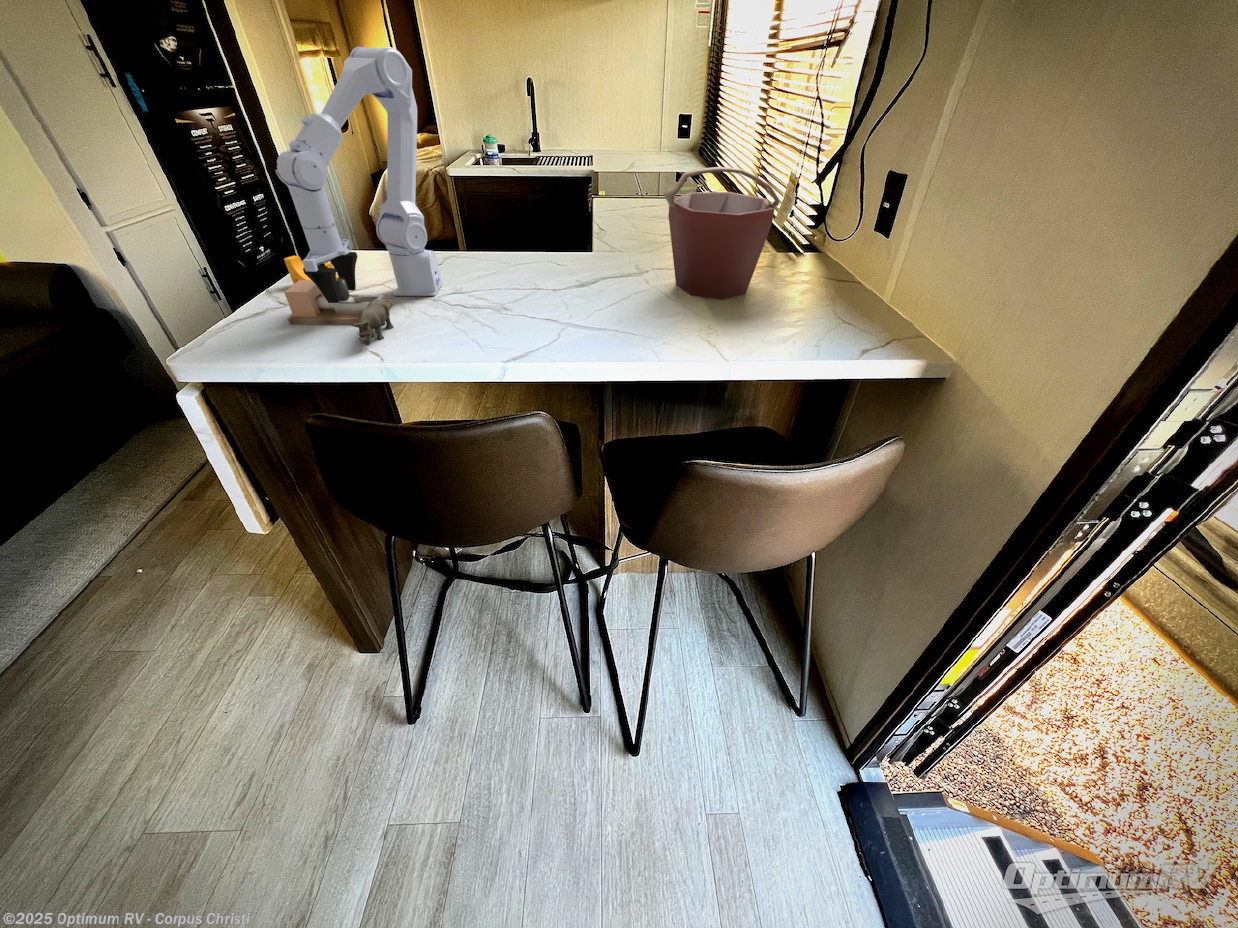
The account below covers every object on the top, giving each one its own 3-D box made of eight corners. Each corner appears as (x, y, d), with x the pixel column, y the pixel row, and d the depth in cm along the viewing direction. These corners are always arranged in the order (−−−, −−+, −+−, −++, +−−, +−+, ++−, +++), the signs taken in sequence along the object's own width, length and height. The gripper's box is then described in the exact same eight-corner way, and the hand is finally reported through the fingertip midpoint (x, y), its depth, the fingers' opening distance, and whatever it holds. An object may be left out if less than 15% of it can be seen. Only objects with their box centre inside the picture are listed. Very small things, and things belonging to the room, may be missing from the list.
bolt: (356, 306, 108) (347, 277, 104) (352, 310, 106) (343, 282, 102) (312, 306, 107) (302, 277, 104) (307, 310, 106) (297, 282, 102)
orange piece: (347, 289, 119) (337, 261, 115) (331, 295, 116) (321, 266, 112) (310, 281, 123) (300, 253, 119) (294, 287, 120) (283, 258, 116)
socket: (330, 303, 109) (321, 280, 106) (316, 316, 104) (307, 292, 101) (308, 303, 109) (299, 280, 106) (293, 316, 104) (284, 292, 101)
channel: (386, 305, 109) (383, 295, 108) (379, 313, 105) (376, 303, 104) (344, 305, 109) (341, 295, 107) (336, 314, 105) (332, 303, 104)
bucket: (650, 295, 119) (657, 173, 103) (671, 266, 135) (680, 157, 120) (758, 308, 113) (782, 182, 98) (766, 276, 130) (787, 164, 114)
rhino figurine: (351, 354, 94) (340, 322, 90) (377, 323, 105) (369, 294, 101) (374, 354, 94) (364, 323, 90) (398, 323, 105) (390, 294, 101)
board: (392, 305, 112) (391, 300, 111) (377, 323, 104) (376, 319, 103) (310, 305, 111) (309, 300, 110) (289, 324, 103) (287, 319, 103)
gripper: (319, 236, 91) (344, 310, 99) (357, 216, 102) (376, 284, 111) (281, 235, 91) (309, 309, 100) (323, 215, 102) (344, 283, 111)
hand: (342, 296), depth 105 cm, fingers open, 6 cm apart
